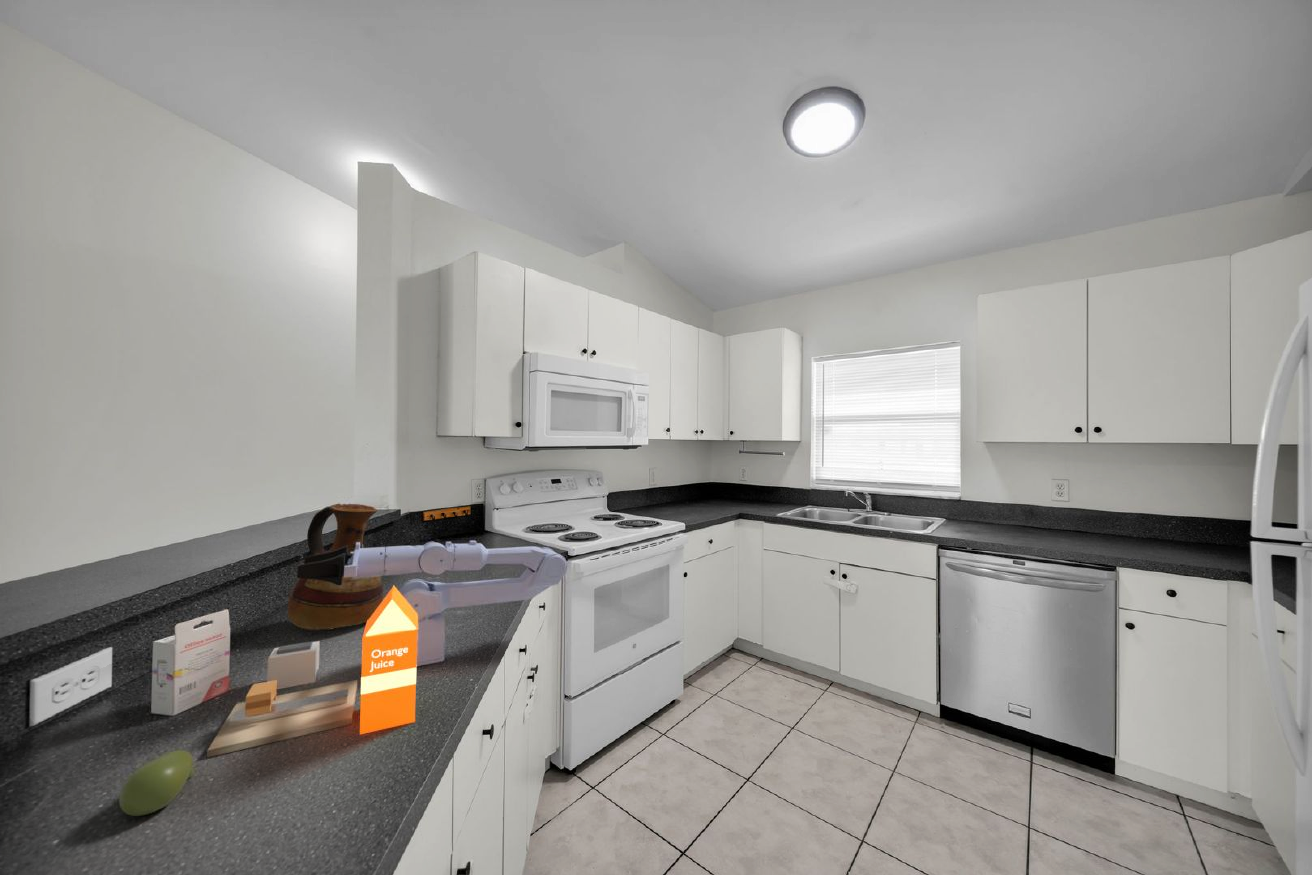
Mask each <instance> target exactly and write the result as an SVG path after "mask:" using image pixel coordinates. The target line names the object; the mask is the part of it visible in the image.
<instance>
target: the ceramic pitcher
mask: <svg viewBox="0 0 1312 875" xmlns="http://www.w3.org/2000/svg"><path fill="white" fill-rule="evenodd" d="M376 513H378V509H376V508H375V507H373V506H370V505H366V504H361V503H360V504H358V503H347V504H346V503H336V504H332V505H329V506H326V507H324V508H322V509H320V511H318V512H316V514H314V516H313V517H312V520H311V522H310V523H309V525H308V529H307V535H306V538H307V545H308V549H309V554H310V555H309V556H312V555H317V554H322V553H326V552H330V551H333V550H336V549H339V548H341V547H343V546H346V545H348V553H349V554H350V552H354V550H355V548H356V543H357V542H360V548H364V545H363V543H364V542H363V541H364V534H365V533H366V532H365V531H366V526H367V524H368V522H369V520H370V518H372V517H373V516H374V515H375V514H376ZM332 515H334V517H335V518H336V533H335V538H334V541H333V543H332V546H331V547H330V548H329V550H327V551H325V548H324V544H323V529H324V526H325V524H326V523H327V521H328V519H329V518H330V517H331V516H332ZM383 585H384V584H383V580H382V576H375V577H363V578H358V579H353V578H352V577H345V578H344V576H343V577H342V584H341V585H336V584H333V583H331V582H327V581H322V580H314V579H303V578H297V580H296V581H295V583H294V585H293V587H292V589H291V592H290V595H289V598H288V603H287V617H288V619H289V621H290V622H291V623H292V624H293V625H294V626H296V627H298V628H300V629H304V630H309V631H316V630H315V629H322V630H323V629H328V630H331V628H337V629H340V628H339V627H342V628H346V627H345V626H349V627H351V626H350V625H353V626H358V625H361V624H363V623H367V620H369V618H370V617H371V616H372V614H373V613H374V612H375V610H376V609H377V608H378V606H379V605H380V604H381V602H382V601H383V600H384V586H383Z"/></svg>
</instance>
